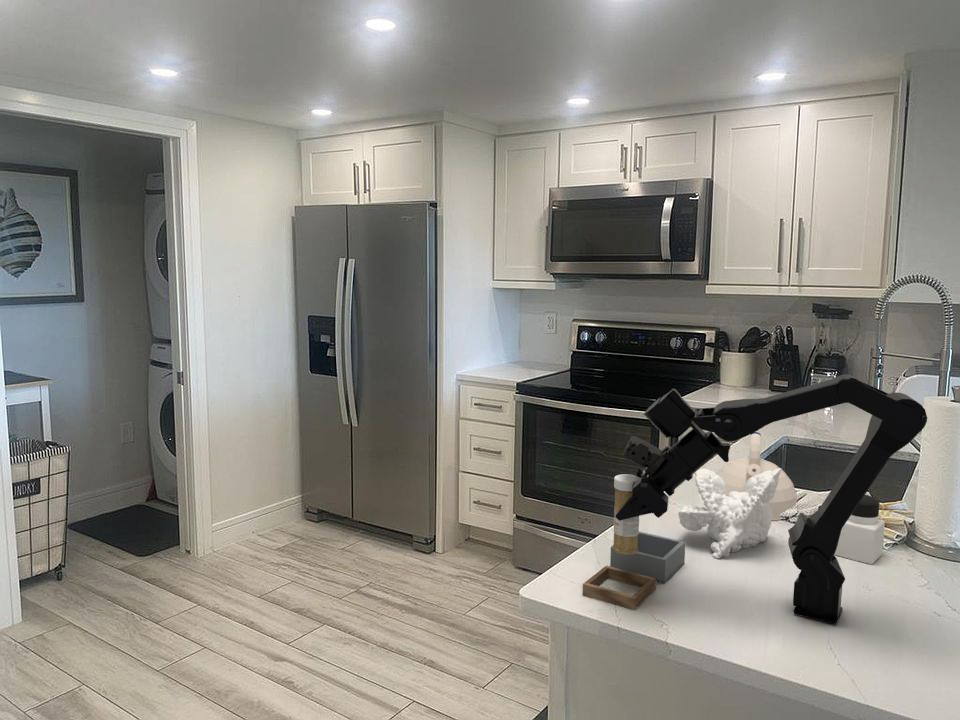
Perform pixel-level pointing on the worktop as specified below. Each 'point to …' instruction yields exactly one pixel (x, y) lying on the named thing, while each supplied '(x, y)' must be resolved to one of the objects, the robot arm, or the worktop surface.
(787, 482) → the kettle
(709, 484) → the white coral
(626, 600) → the walnut holder
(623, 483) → the sprinkles bottle
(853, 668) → the worktop surface
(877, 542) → the medicine bottle
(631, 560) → the grey bin
